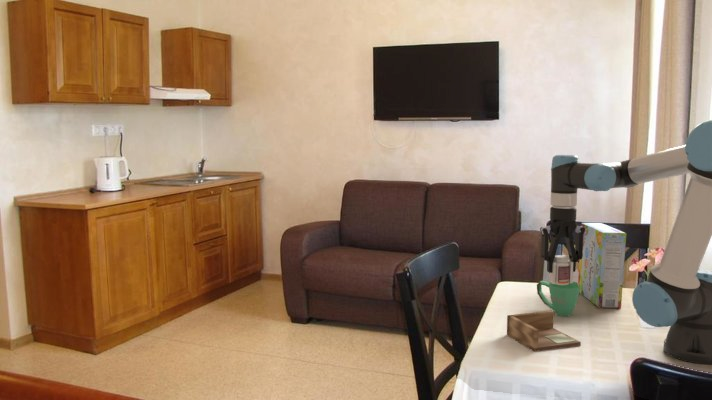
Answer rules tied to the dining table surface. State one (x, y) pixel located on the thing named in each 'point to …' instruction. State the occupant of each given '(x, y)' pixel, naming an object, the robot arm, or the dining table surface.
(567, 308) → the mug
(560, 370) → the dining table surface
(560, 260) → the pill bottle
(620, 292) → the snack box
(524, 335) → the wooden corner tray
